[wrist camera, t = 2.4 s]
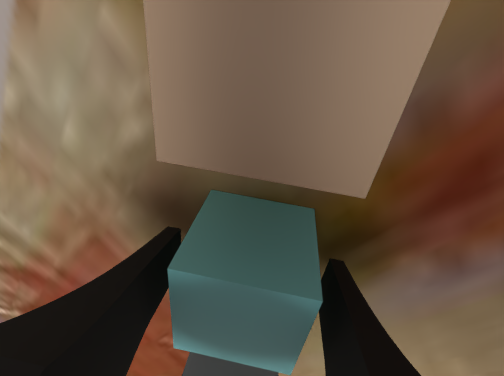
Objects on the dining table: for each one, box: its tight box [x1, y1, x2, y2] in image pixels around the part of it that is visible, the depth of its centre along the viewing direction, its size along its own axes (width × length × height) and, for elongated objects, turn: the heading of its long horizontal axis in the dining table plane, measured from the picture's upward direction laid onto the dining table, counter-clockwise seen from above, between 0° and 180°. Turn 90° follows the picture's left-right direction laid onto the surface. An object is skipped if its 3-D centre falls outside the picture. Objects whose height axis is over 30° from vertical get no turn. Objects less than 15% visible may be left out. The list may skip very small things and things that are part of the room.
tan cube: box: [143, 0, 451, 199], centre depth 7 cm, size 5×5×5 cm
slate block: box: [182, 352, 278, 376], centre depth 16 cm, size 5×5×5 cm
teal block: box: [167, 190, 323, 375], centre depth 12 cm, size 5×5×5 cm
